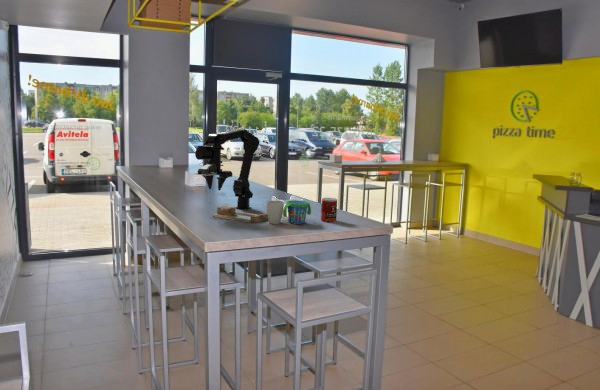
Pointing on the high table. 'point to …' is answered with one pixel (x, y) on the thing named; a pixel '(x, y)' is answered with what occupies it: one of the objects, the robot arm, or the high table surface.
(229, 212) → the crate
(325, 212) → the canned food
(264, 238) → the high table surface
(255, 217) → the light brown long piece
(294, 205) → the snack cup
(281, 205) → the cup
